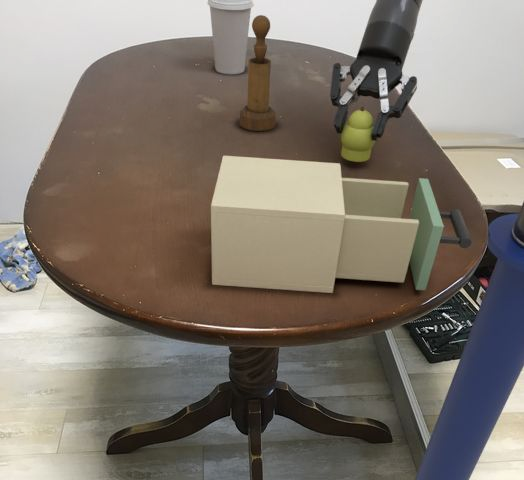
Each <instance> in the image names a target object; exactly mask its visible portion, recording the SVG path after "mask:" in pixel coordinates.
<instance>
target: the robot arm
mask: <svg viewBox="0 0 524 480" xmlns="http://www.w3.org/2000/svg"><path fill="white" fill-rule="evenodd" d="M423 1H424V0H376V1H375V3H374V5H373V8H372V10H371V12H370V13H369V17H368V21H367V23H366V26H365V29H364V32H363V36H362V38H361V42H360V45H359V48H358V52H357V55H356V58H355V59H354V61H353V62H352V63H351V65H343V66H342V65H341V64H340V62H335V63H334V64H333V66H332V74H331V75H332V76H331V82H330V93H329V97H330V101H331V104H332V106H333V107H337V111H336V113H335V117H334V120H333V126H334V129H335V131H336V133H337V134H340V135H341V133H342V130H343V128H344V126H345V125H346V123H347V122H346V121H347V119H348V115H349V110H350V109H351V107H352V106H353V105H354V104H355V103H357V102H358V100H359V99H360V98H361V97H371V98H373V99H377V100H379V101H380V112H378V113H377V116H376V119H375V123H374V124H373V126H374V128H373V131H372V136H371V137H372V140H374V141H375V142H377V141H378V140H379V139H381V138H382V137H383V136H384V132H385V129H386V127H387V123H388V121H389V119H393V118H395V119H400V118H402V116H403V114H404V112H405V111H406V110H407V107H408V105H409V104H410V102H411V100H412V99H413V96H414V95H415V93H416V92H417V89H418V77H417V76H415V75H412V76H410V77H409V76H407V75H404V74H403V69H404V65H405V62H406V58H407V56H408V53H409V49H410V47H411V43H412V41H413V39H414V36H415V31H416V27H417V24H418V17H419V13H420V10H421V7H422V5H423ZM348 76H350V77H351V79H352V81H351V83H350V84H349V85H348V87H347V90H346V91H345V92H344V94H343V95H342V96H341V93H342V84H343V83H344V82H345V81H346V80H347V77H348ZM400 84H401V85H400ZM399 85H400V89H401V93H400V94H399V97H398V98H397V99H396V102H395V104H394V105H390V103H389V93H390V92H391V91H393V90H394V89H395V88H397V87H398V86H399ZM518 214H519V215H518V217H517V219H516V222H515V225H514V226H513V229H512V231H511V237H512V239H513V241H514V242H515V243H516V244H517V245H518V246H520V247H521V248H523V249H524V201H523V202H522V204H521V207H520V209H519V212H518Z"/></svg>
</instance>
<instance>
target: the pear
mask: <svg viewBox="0 0 524 480" xmlns="http://www.w3.org/2000/svg"><path fill="white" fill-rule="evenodd" d="M347 119H348V120H347V122H346V123H345V125H344V128H343V130H342V133H341V134H340V141H341V151H340V155H341V158H343V159H345V160H346V161H349V162H356V163H362V162H367V161H368V160H370V159H371V156H372V155H371V153H372V149H373V147H374V145H375V143H376V141H374V140H372V137H371V136H372V131H373V128H374V119H373V116H372V114H371V113H370V112H369V111H368V110H365V107H364V106H361V107H360V109H357V110H354V111H353V112H352V113H351V114H350V115H349V117H348V118H347Z"/></svg>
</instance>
